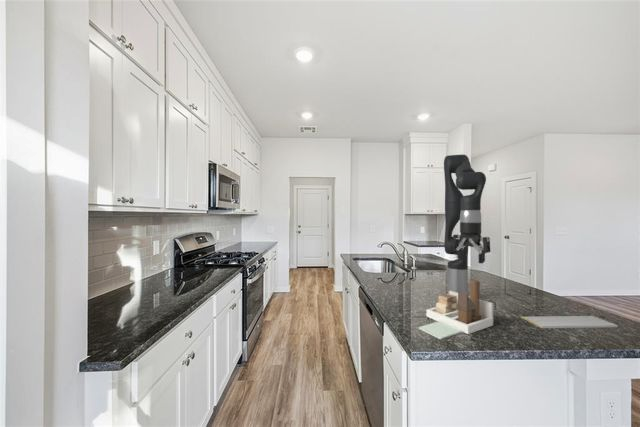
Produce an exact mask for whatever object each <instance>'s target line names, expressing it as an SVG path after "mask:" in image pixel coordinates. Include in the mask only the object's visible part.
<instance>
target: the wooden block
mask: <svg viewBox="0 0 640 427" xmlns="http://www.w3.org/2000/svg"><path fill="white" fill-rule="evenodd" d="M480 283H481V282H480V280H478V279H474V278H473V279H472V278H471V279H469V296H470V298H469V297H468V295H467V294H465V293H461V292H458V309H459V310H458V321H460V322H462V323H465V324H470V323H473V322H476V321H479V320H481V315H480V300H481V298H480V293H481V292H480Z"/></svg>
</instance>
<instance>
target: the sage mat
mask: <svg viewBox="0 0 640 427" xmlns="http://www.w3.org/2000/svg"><path fill="white" fill-rule="evenodd" d="M418 329H419V330H420V331H423V332H424V333H426V334H429V335H431V336H433V337H435V338H436V339H439V340H444V339H446V338H450V337H453V336H455V335H459V334H463V332H462V331H461V330H458V329H456V328H454V327H451V326H449V325H447V324H444V323H442V322H440V321H435V322H431V323H428V324H425V325H422V326H418Z"/></svg>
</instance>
